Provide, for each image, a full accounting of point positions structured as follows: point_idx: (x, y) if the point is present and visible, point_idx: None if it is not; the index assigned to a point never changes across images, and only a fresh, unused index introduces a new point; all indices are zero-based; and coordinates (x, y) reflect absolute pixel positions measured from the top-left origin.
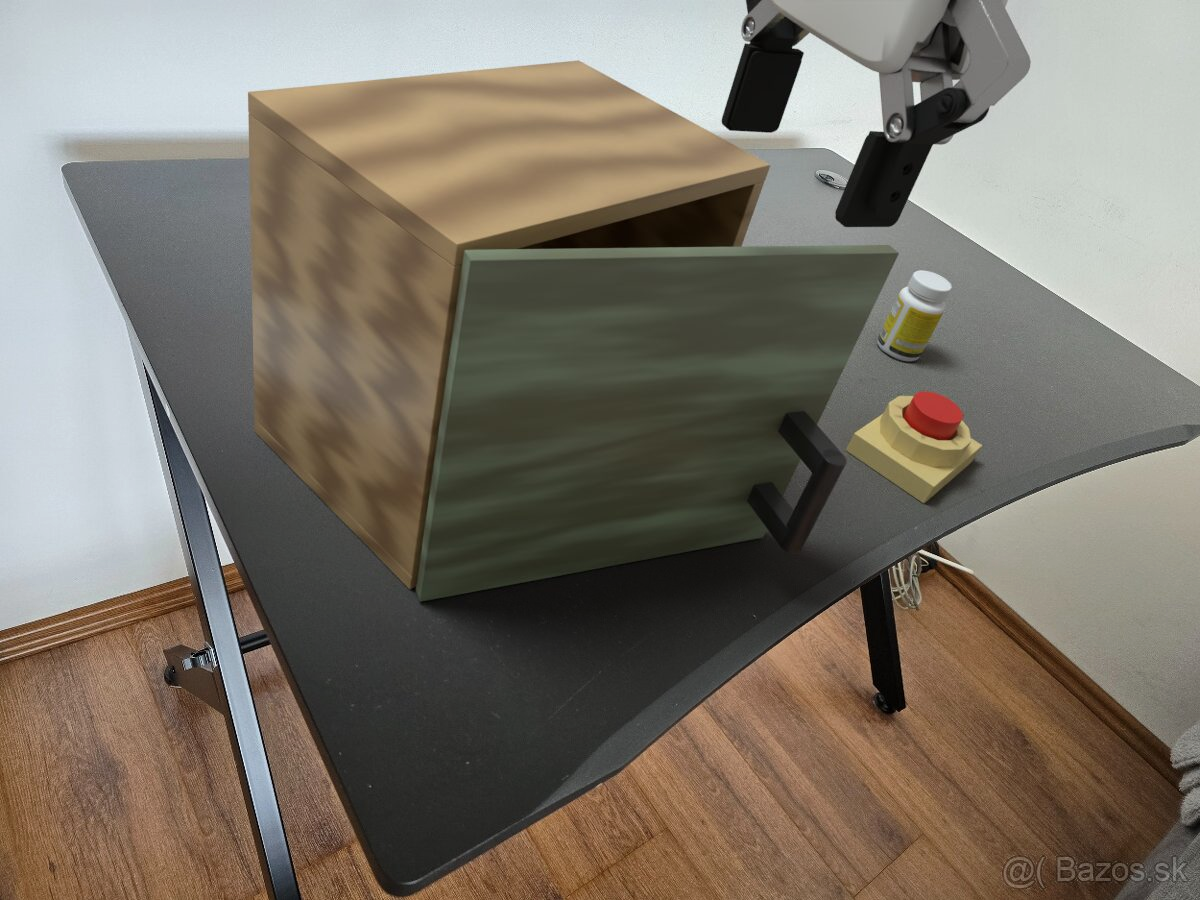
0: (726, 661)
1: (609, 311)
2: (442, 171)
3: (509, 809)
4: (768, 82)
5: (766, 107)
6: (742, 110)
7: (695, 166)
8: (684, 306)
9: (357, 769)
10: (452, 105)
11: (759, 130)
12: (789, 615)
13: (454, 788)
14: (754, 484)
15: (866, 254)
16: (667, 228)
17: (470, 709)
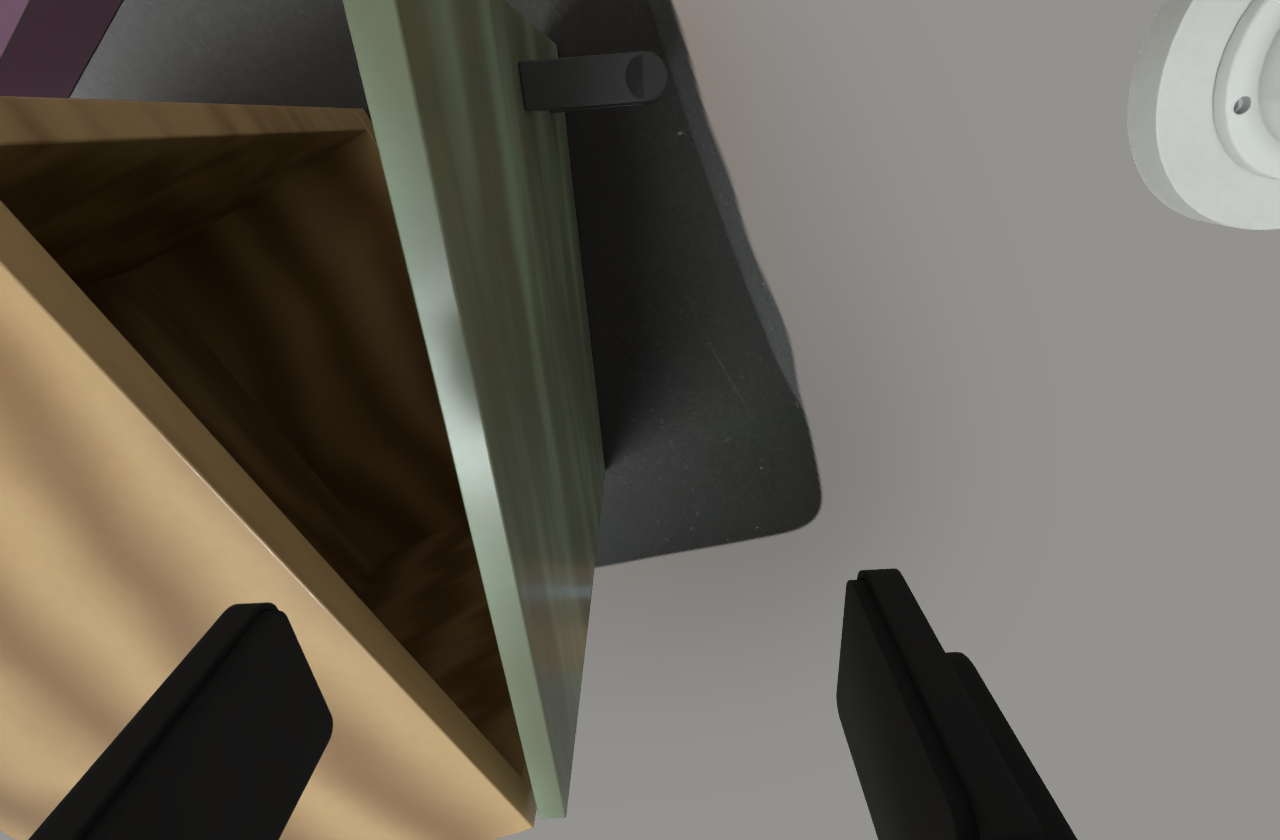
0: (731, 204)
1: (548, 590)
2: (319, 809)
3: (806, 450)
4: (225, 818)
5: (266, 721)
6: (299, 762)
7: (36, 384)
8: (527, 481)
9: (742, 532)
10: (30, 758)
11: (302, 654)
12: (689, 79)
13: (777, 480)
14: (548, 111)
15: (408, 59)
16: (28, 222)
17: (717, 456)
